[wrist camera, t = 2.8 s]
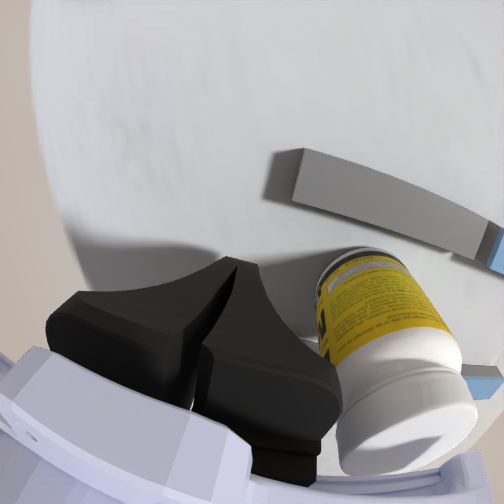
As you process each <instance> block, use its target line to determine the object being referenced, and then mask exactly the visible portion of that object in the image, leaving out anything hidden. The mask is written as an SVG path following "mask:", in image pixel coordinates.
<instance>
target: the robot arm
mask: <svg viewBox="0 0 504 504" xmlns="http://www.w3.org/2000/svg"><path fill="white" fill-rule="evenodd" d="M46 337H47V342H48V345H49V348H50V351H49V350H47V349H44V348H41V347H37V346H33V347H32V348H31V349H30V350H28V351H27V352H26V353H25V354H24V355H23V356H22V357H21V358H20V359H19V360H18V362H17V363H16V364H15V363H13V362H12V361H11V360H9V359H8V358H7V357H6V356H4V355H3V354H2V353H1V352H0V504H495V502H494V497H493V493H492V489H491V485H490V482H489V478H488V474H487V471H486V468H485V464H484V461H483V458H482V456H481V452H480V450H474V451H470V452H465V453H461V454H458V455H456V456H454V457H452V458H450V459H449V460H447V461H446V462H445V463H444V464H443V465H441V467H440V468H435V469H429V470H423V471H416V472H409V473H400V474H390V475H376V476H318V475H317V456H318V455H319V454H320V453H321V439H322V438H323V437H324V436H325V435H326V433H327V432H328V431H329V430H330V429H331V428H332V426H333V425H334V424H335V423H336V422H337V420H338V419H339V417H340V415H341V413H342V410H343V398H342V390H341V386H340V381H339V378H338V374H337V371H336V367H335V365H333V364H332V363H330V362H329V361H327V360H326V359H324V358H323V357H322V356H320V355H319V354H317V353H316V352H314V351H313V350H312V349H310V348H309V347H308V346H307V345H306V344H305V343H303V342H302V341H301V340H300V339H299V338H298V337H297V336H296V335H295V334H294V333H293V332H292V331H291V330H290V329H289V328H288V327H287V325H286V324H285V323H284V322H283V321H282V319H281V318H280V317H279V315H278V314H277V313H276V311H275V309H274V308H273V306H272V304H271V302H270V300H269V298H268V296H267V294H266V292H265V289H264V287H263V284H262V281H261V278H260V274H259V267H258V265H257V264H254V263H250V262H246V261H243V260H239V259H235V258H231V257H227V256H226V257H224V258H222V259H220V260H218V261H216V262H215V263H213V264H211V265H209V266H207V267H206V268H204V269H202V270H200V271H197V272H195V273H193V274H191V275H188V276H186V277H184V278H181V279H178V280H175V281H172V282H169V283H166V284H162V285H158V286H153V287H147V288H142V289H136V290H127V291H113V292H97V291H78V292H76V293H75V294H74V295H73V296H72V297H70V298H69V299H68V300H67V301H66V302H65V303H63V304H62V305H61V306H60V307H59V308H58V309H57V310H56V311H54V312H53V313H52V314H51V315H50V317H49V318H48V320H47V321H46ZM193 399H194V403H193V407H192V410H191V411H190V408H191V405H192V402H193Z"/></svg>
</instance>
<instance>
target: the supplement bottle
mask: <svg viewBox="0 0 504 504" xmlns="http://www.w3.org/2000/svg"><path fill="white" fill-rule="evenodd" d="M315 311H316V318H317V327H318V341H319V350H320V356H322V357H323V358H324V359H326V360H327V361H329V362H330V363H332V364H333V365H335V367H336V371H337V374H338V378H339V381H340V386H341V390H342V398H343V410H342V413H341V415H340V417H339V419H338V420H337V422H336V423H337V429H336V441H337V445H338V453H339V463H340V467H341V469H342V471H343V472H344V473H346V474H348V475H350V476H376V475H390V474H400V473H405V472H408V471H411V470H414V469H416V468H419V467H421V466H423V465H426V464H428V463H430V462H432V461H434V460H435V459H437V458H439V457H440V456H442V455H444V454H445V453H447V452H448V451H450V450H451V449H453V448H454V447H455V446H456V445H458V444H459V443H460V442H461V441H462V440H463V439H464V438H465V437H466V436H467V435H468V434H469V432H470V431H471V430H472V428H473V427H474V425H475V423H476V420H477V414H478V412H477V408H476V405H475V402H474V400H473V398H472V396H471V393H470V391H469V389H468V386H467V384H466V381H465V380H464V379H463V377H462V375H461V374H460V373H461V365H462V357H461V352H460V349H459V346H458V344H457V342H456V340H455V338H454V336H453V335H452V333H451V332H450V330H449V329H448V327H447V326H446V324H445V323H444V321H443V320H442V318H441V317H440V315H439V314H438V312H437V311H436V309H435V308H434V306H433V305H432V303H431V302H430V300H429V299H428V297H427V296H426V295H425V293H424V292H423V290H422V289H421V287H420V286H419V285H418V283H417V282H416V280H415V279H414V278H413V276H412V275H411V274H410V272H409V271H408V270H407V268H406V267H405V266H404V264H403V263H402V262H401V261H400V260H399V259H398V258H397V257H396V256H394V255H393V254H391V253H390V252H388V251H385V250H382V249H378V248H360V249H356V250H352V251H350V252H348V253H345V254H344V255H342V256H340V257H339V258H337V259H336V260H335V261H333V262H332V263H331V264H330V265H329V266H328V267H327V268H326V269H325V271H324V272H323V273H322V275H321V277H320V279H319V281H318V284H317V287H316V291H315Z"/></svg>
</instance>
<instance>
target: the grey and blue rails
mask: <svg viewBox="0 0 504 504" xmlns="http://www.w3.org/2000/svg"><path fill="white" fill-rule="evenodd" d="M292 201H295V202H299V203H302V204H306V205H310V206H313V207H317V208H320V209H324V210H327V211H331V212H334V213H338V214H341V215H344V216H348V217H351V218H354V219H358V220H361V221H364V222H367V223H370V224H374V225H377V226H380V227H383V228H386V229H389V230H392V231H395V232H398V233H401V234H404V235H407V236H410V237H413V238H416V239H418V240H421V241H424V242H427V243H430V244H433V245H435V246H438V247H441V248H443V249H446V250H449V251H451V252H454V253H457V254H459V255H462V256H464V257H467V258H469V259H472V260H474V258H475V257H477V258H478V259H479V260H480V261H481V262H483V263H484V264H485V265H486V266H487V267H489V268H490V269H492V270H494V271H497V272H499V273H502V274H504V228H502V227H500V226H498V225H496V224H495V223H493V222H491V221H489V220H487V219H485V218H483V217H482V216H480V215H478V214H476V213H474V212H472V211H470V210H468V209H466V208H464V207H462V206H460V205H458V204H456V203H454V202H452V201H449V200H447V199H445V198H443V197H441V196H439V195H436V194H434V193H432V192H430V191H427V190H425V189H423V188H420V187H418V186H415V185H413V184H410V183H408V182H405V181H403V180H400V179H398V178H395V177H393V176H390V175H387V174H385V173H382V172H379V171H376V170H374V169H371V168H368V167H365V166H362V165H359V164H356V163H353V162H350V161H347V160H344V159H341V158H337V157H334V156H331V155H327V154H324V153H321V152H317V151H314V150H310V149H306V148H304V150H303V154H302V158H301V162H300V166H299V170H298V173H297V177H296V181H295V185H294V189H293V193H292ZM301 341H302V342H303V343H305V344H306V345H307V346H308V347H309V348H310V349H312V350H313V351H314V352H316V353H317V354H319V355H320V350H319V343H314V342H309V341H304V340H301ZM460 374H461V375H462V377H463V379H464V380H465V381H466V384H467V386H468V389H469V391H470V393H471V396H472V398H473V400H481V399H490V398H491V396H492V395H493V394H494V393H495V392H496V391H497V389H498V388H499V387H500V386H501V384H502V383H503V382H504V378H503V376H502V374H501V373H500V371H499V369H498V368H497V367H495V366H477V365H463V364H462V365H461V373H460Z"/></svg>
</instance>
